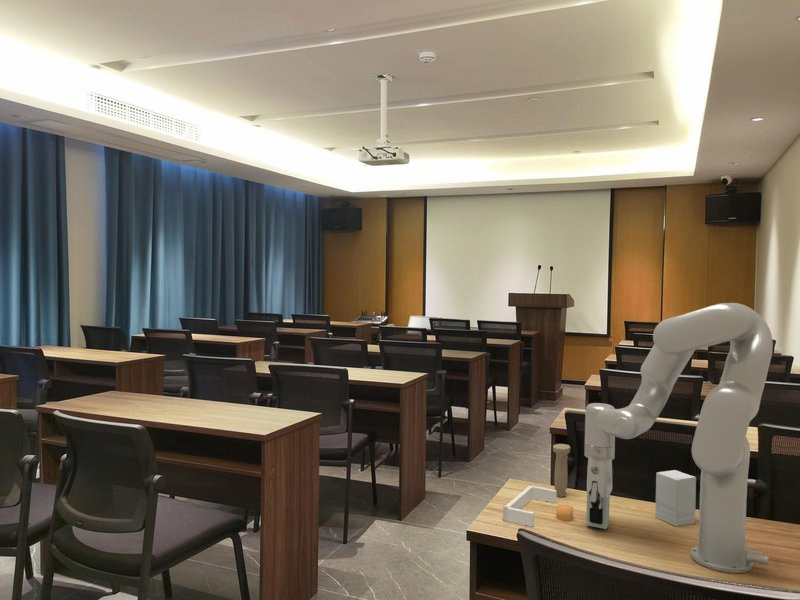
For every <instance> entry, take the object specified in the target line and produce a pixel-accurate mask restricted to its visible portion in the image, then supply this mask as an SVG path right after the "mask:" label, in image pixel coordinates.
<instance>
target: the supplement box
mask: <svg viewBox="0 0 800 600" xmlns="http://www.w3.org/2000/svg"><path fill="white" fill-rule="evenodd" d="M655 476H656V477H655V518H657V519H659V520H661V521H663V522H665V523H668V524H670V525H673V526H675V527H680V526H686V525H687V526H688V525H691V524H695V523H696V500H697V499H696V498H697V497H696V494H697V493H696V492H697V490H696V489H697V477H696V476H693V475H690V474H688V473H684V472H682V471H680V470H676V469H673V470H665V471H659V472H655Z"/></svg>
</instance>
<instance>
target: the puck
mask: <svg viewBox="0 0 800 600" xmlns="http://www.w3.org/2000/svg"><path fill="white" fill-rule="evenodd" d="M555 516H556V517H557V518H556V519H557V520H559V521H561V520H562V521H561V522H572V521H573V520H574V507H573V506H570V505H568V504H557V505H556V515H555Z"/></svg>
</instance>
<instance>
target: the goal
mask: <svg viewBox="0 0 800 600" xmlns="http://www.w3.org/2000/svg"><path fill="white" fill-rule="evenodd" d="M557 497H558V496H557V490H555V489H550V488H546V487H541V486H535V485H531V484H529V485H528V486H527V487H526V488H525V489H523V490H522V491H521V492H520V493H519V494H517V495H516V496H515V497H514V498H513V499H512V500H510V501H509V502H508V503H507V504H505V506H503V508H502V511H503V512H502V515H503V516H502V521H504V522H508V523H512V524H518V525H521V526H522V525H523V526H525V525H527V526H526V527H530V526H531V527H530V528H533V527H534V526H535V512H534V511H529V510H524V509H522V508H524V507H525V506H526V505H527V504H529V502H530V501H531V500H536V499H538V500H537V501H541V500H543V501H542V502H546V501H548V502H547V503H551V502H554V503H553V504H557V503H558V502H557V499H558V498H557Z"/></svg>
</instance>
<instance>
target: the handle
mask: <svg viewBox="0 0 800 600" xmlns="http://www.w3.org/2000/svg"><path fill="white" fill-rule="evenodd" d="M552 451H553V452H554V453H555V462H554V479H553V481H554V490H557V497H558V496H560V498H563V496H565V497H566V495H567V489H568V454H570V453H571V446H570V444H565V443H556V444H553V446H552Z"/></svg>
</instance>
